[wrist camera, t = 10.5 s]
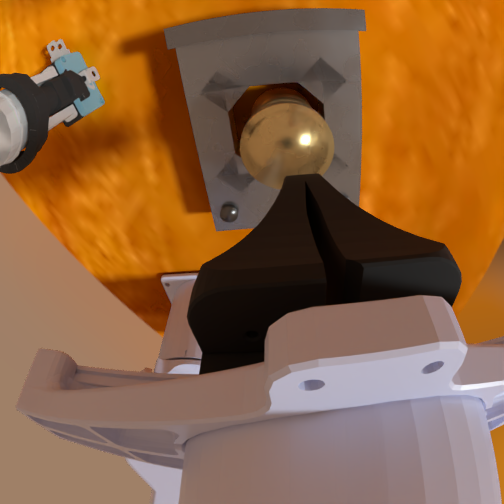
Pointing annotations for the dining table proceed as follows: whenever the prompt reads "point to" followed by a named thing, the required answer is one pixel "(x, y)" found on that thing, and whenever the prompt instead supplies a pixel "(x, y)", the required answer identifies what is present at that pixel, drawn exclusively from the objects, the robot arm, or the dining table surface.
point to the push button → (43, 105)
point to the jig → (261, 73)
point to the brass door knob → (285, 138)
